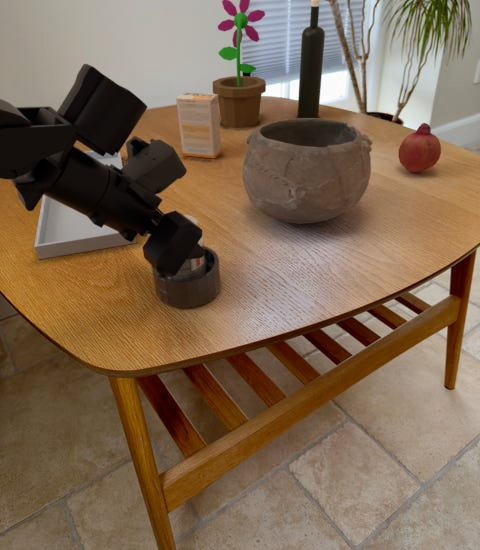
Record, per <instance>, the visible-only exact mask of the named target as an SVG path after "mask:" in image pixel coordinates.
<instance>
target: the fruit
mask: <svg viewBox="0 0 480 550" xmlns="http://www.w3.org/2000/svg"><path fill="white" fill-rule="evenodd" d="M431 131H432V130H431V126H430V125H429V124H428V123H426V122H423V123H421V124H420V125H419V127H417V129H416V131H415V132H412V133H409V134H408V135H407V136H406V137H405V138H404V139H403V140H402V141H401V144H400V145H399V148H398V153H397V154H398V156H397V157H398V160H399V163H400V164H401V166H402V167H404V169H406V170H407V171H409V172H411V173H418V172H422V171H426V170H428V169H430V168H432V167H434V166H435V165H436V164H437V163H438V161H439V160H440V159H441V155H442V146H441V145H442V144H441V142H440V140H439V138H438V136H437V135H435V134H433V133H432V132H431Z"/></svg>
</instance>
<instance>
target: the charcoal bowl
mask: <svg viewBox="0 0 480 550" xmlns="http://www.w3.org/2000/svg"><path fill="white" fill-rule="evenodd" d="M204 250H205V251H206V252H205V264H206V274H205V275H204V276H201V277H199V278H196V279H191V280H172V279H167V278H165V275H164V274H161V273H159V272H157V271H156V270H155V268H154V267H153V266H152V265H151V264H150V266H151V272H152V277H153V281H154V282H153V284H154V288H155V289H154V290H155V293H156V294H155V295H156V296H157V298H158V299H159V301H161V302H162V303H163V304H165V305H168V306H170V307H175V308H179V309H180V308H181V309H183V308H184V309H185V308H195V307H198V306H202V305H204V304H206V303H209V302H210V301H212V300H213V299H214V298H216V297H217V295H218V294H219V292H220V290H221V281H222V280H221V268H220V267H221V265H220V258H219V256H218V253H217V252H215V251H214V250H213V249H212V248H210V247H207V246H205V245H204Z"/></svg>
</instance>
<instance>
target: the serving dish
mask: <svg viewBox="0 0 480 550" xmlns="http://www.w3.org/2000/svg"><path fill="white" fill-rule="evenodd" d="M84 152H85V153H87V154H88V155H90V156H91V157H93V158H95V159H96V160H98V161H99V162H101V163H103V164H104V165H106V164H107V165H109V166H110V165H111V164H112V165H114V166H115V167H117V168H119V169H122V168H123V167H124V165H123V160H122V155H121V150H120V151H119V153H116V152H115V154H114V156H111V155H110V154H108V153H106V154H105V155H104V157H103V156H101V155H99V154H98V153H96V152H94V151H93V150H85V151H84ZM34 238H35V240H34V245H33V248H34V251H35V254H36V256H37V259H38V260H45V259H50V258H51V259H52V258H56V257H61V256H67V255H74V254H79V253H86V252H91V251H98V250H104V249H108V248H109V249H110V248H115V247H122V246H127V245H132V244H137V236H136V237H135V238H134V240H133V241H132V242H130V241H128V240H125V239H124V238H123V237H122V236H121V235H120V234H119V232H118V231H116V230H114V229H112V228H110V227H108V226H106V225H103V227H102V228H101V227H99V226H97V225H95V224H93V223H92V221H91V220H90V219H89V218H88V217H87V216H86V215H84V214H82V213H80V212H78V211H76V210H74V209H71V208H69V207H67V206H65V205H63V204H61V203H59V202H57V201H55V200H53V199H51V198H49V197H47V196H45V195H43V196H42V197H41V205H40V210H39V217H38V221H37V228H36V233H35V237H34Z"/></svg>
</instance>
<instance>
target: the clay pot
mask: <svg viewBox="0 0 480 550" xmlns="http://www.w3.org/2000/svg"><path fill="white" fill-rule="evenodd" d="M246 144H247V149H246V152H245V155H244V159H243V163H242V175H241V176H242V182H243V187H244V189H245V193H246V195H247V197H248V199H249V201H250V202H251V204H253V206H254V207H255V208H256V209H258V210H259V211H260V212H262V213H263V214H265V215H266V216H267V217H270V218H273V219H275V220H278V221H281V222H286V223H289V224H291V223H292V224H300V225H301V224H315V223H321V222H326V221H328V220H332V219H334V218H336V217H339V216H342V215H343V214H345V213H347V212H348V211H350V210H351V209H352V208H354V207H355V206H356V205H357V204H358V203H359V202H360V201H361V199H362V197H363V196H364V194H365V193H366V191H367V188H368V186H369V183H370V179H371V174H372V164H371V161H372V159H371V152H372V150H373V148H372V145H373V141H372V140H371V139H370V138H369V137H368V135H366V134H364V133H363V134H362V132H361V131H359V130H358V129H357V127H356V126H355V125H350V124H349V123H348V122H345V121H342V120H336V119H329V118H319V117H318V118H287V119H286V118H285V119H280V120H275V121H271V122H267V123H265V124H263V125H260V126H259V127H258V129H253V130H252V131H251V132H250V134H249V135H248V137H247V138H246Z"/></svg>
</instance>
